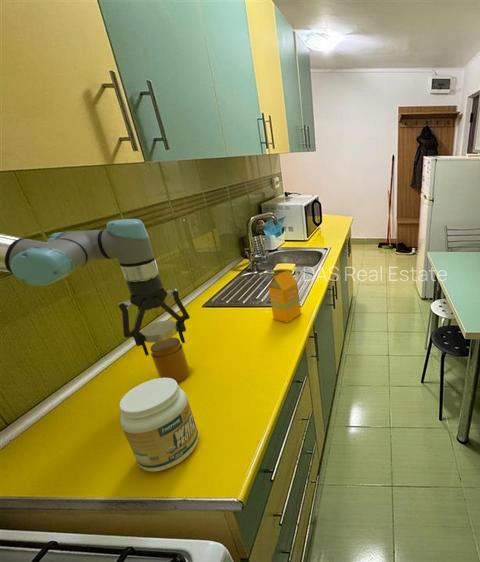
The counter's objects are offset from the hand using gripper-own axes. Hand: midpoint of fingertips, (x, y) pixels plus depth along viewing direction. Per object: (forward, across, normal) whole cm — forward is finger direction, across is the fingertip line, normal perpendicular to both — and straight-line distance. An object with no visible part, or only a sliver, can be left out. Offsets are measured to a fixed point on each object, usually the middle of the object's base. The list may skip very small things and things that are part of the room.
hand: (165, 347), depth 91 cm
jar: (+11, 0, 0) cm, 11 cm away
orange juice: (+11, -44, -11) cm, 47 cm away
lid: (-6, 0, 0) cm, 6 cm away
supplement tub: (+11, +6, +29) cm, 32 cm away
